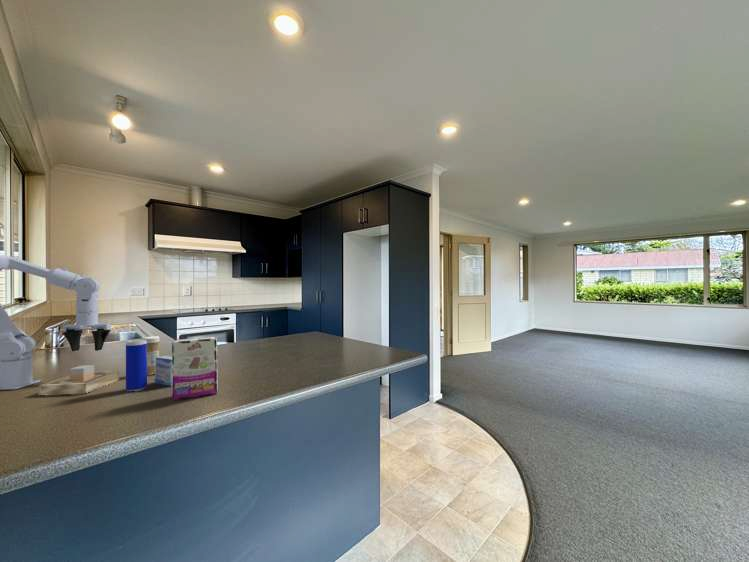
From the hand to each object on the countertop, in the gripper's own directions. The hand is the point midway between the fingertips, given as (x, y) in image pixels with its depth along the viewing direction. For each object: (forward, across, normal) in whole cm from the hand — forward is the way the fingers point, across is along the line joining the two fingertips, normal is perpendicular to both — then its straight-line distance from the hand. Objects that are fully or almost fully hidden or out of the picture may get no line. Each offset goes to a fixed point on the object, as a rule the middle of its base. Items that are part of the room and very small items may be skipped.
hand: (87, 350), depth 107 cm
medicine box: (+10, +34, -11) cm, 37 cm away
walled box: (+9, +8, -12) cm, 17 cm away
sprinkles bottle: (+10, +21, +1) cm, 23 cm away
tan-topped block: (+9, +8, -12) cm, 17 cm away
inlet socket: (+9, +8, -12) cm, 17 cm away
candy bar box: (+10, +48, -23) cm, 54 cm away
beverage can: (+10, +27, -16) cm, 33 cm away
